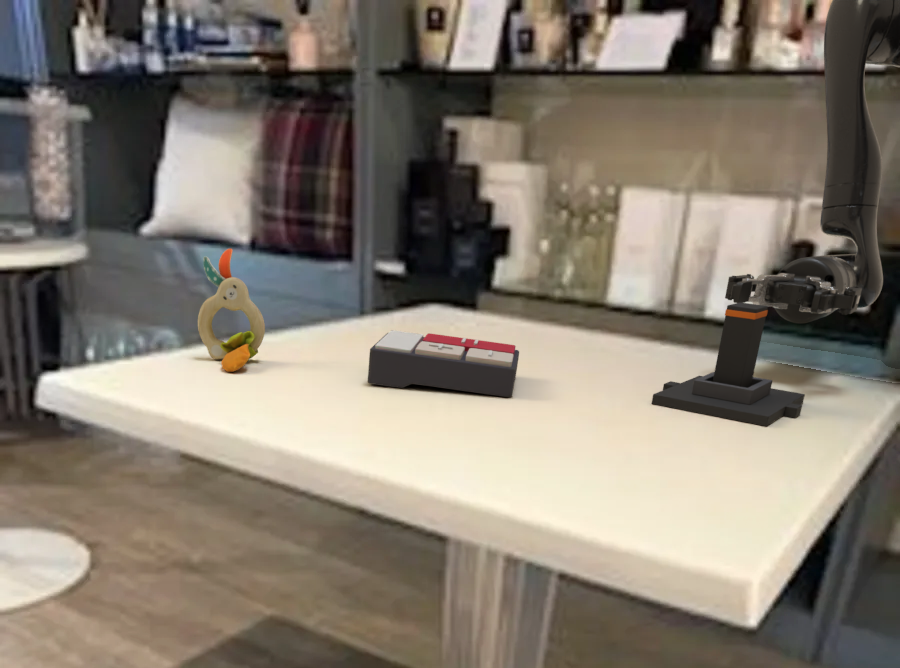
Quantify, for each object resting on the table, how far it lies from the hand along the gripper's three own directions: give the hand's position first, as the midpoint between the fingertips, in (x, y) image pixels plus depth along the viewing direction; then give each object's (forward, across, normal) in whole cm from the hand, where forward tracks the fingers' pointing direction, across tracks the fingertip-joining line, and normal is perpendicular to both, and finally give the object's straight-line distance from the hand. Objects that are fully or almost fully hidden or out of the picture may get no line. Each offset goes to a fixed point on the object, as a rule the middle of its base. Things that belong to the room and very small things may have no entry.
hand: (776, 297), depth 96 cm
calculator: (+25, -27, +10) cm, 38 cm away
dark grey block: (+10, 0, +9) cm, 13 cm away
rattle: (+37, -47, +10) cm, 61 cm away
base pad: (+10, 0, +10) cm, 14 cm away
